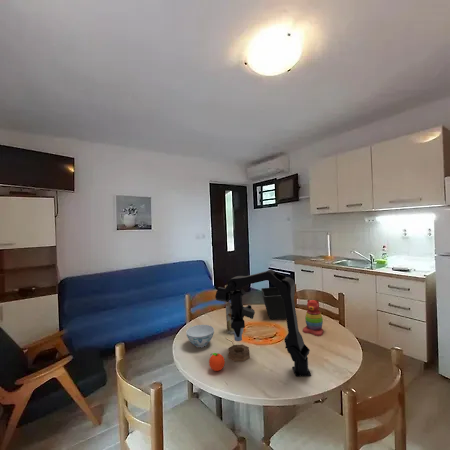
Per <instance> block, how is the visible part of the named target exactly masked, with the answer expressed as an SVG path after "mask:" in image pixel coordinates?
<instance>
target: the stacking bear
mask: <svg viewBox="0 0 450 450" xmlns="http://www.w3.org/2000/svg"><path fill="white" fill-rule="evenodd" d="M306 307H307V310H306V313H305V324H306V326H305V327H303V328H302V332H303V333H305V334H311V335H314V336H315V337H316V336H317V337H321V336H322V335H323V334H324V330H323V324H324V323H323V320H324V318H323V316H322V312H321V311H320V310H319V309H320V302H319V300H316V299H315V300H314V299H311V300H310V299H307V304H306Z"/></svg>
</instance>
